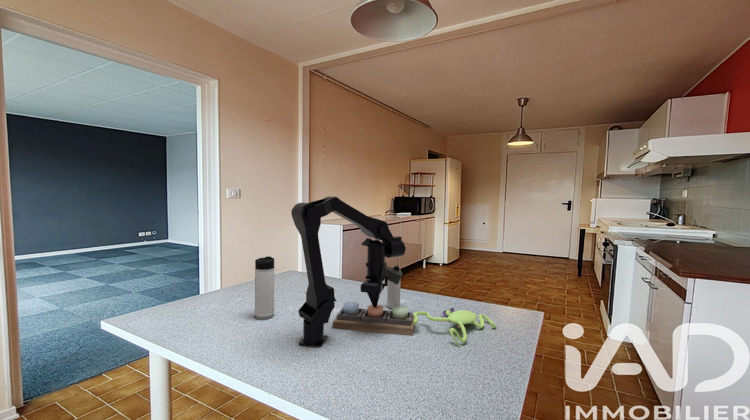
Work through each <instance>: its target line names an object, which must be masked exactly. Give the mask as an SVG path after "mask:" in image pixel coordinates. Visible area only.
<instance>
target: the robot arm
mask: <svg viewBox="0 0 750 420" xmlns="http://www.w3.org/2000/svg"><path fill="white" fill-rule="evenodd" d="M290 213H291V214H290V215H291V217H292V220H293V224H294V226H295V228H296V229H297V232H298V234H299V235H300V238H301V243H302V244H301V245H302V251H303V256H304V263H305V268H306V269H305V271H306V275H307V281H308V286H307V289H306V292H305V295H306V296H305V302H304V303H303V304H302V305H301V306H300V308H299V309H298V311H297V312H298V316H299V317H300V318H302V319H303V322H302V323H303V326H302V332H303V333H302V334H303V336H302V337H303V338H302V339H301V340H299V342H298V346H306V347H308V346H309V347H316V348H320V347H322V346H323V345H324V344H325V342H326V340H327V339H328V337H329V336H328V335H325V324H329V321H330V317H331V314H332V312H333V311H334V309H335V304H336V303H335V302H337V299H336V296H335V288H334V287H333V286H330V285H329V284H327V283H326V278H325V271H324V265H323V258H322V251H321V245H320V238H319V232H320V228H321V224H322V223H321V222H322V220H321V219H322V218H324V217H326V216H329V214H331V213H334V214H335V215H338V216H339V217H341V218H342V219H344V220H346V221H348V222H350V223H351V224H353V225H355V226H356V227H357V228H359V230H360V231H361V232H362V233H363V234H364V235H365V236H367V237H366V239H365V240H363V242H362V243H361V246H363V247H367V249H366V250H367V255H366V256H367V259H366V263H365V267H366V275H365V280H364V281H363V282H362V283H361V284H360V292H361V293H366V294H367V295H368V299H369V300H370V303H371V305H373V307H377V305H379V299H380V294H381V293H382V292H383V291H384V289H385V287H386V285H387V283H386V282H385V281H388V280H389V281H391V282H393V283H394V284H397V285H398V284H399V281H400V282H401V280H400V279H402V276H403V271H401V268H400V266H399V265H394V266H393V267H390V266H387V265H388V264H387V262H386V259H387V258H388V259H390V258H397V257H403V256H404V255H405V254H406V250H407V249H406V248H407V247H406V246H405V243H404V241H403V240H402V236H393V234H392V232H391V230H390V229H389V224H388V222H387V221H384V220H382V219H378V218H375V217H373V216H368V215H367V214H365V213H364V212H362V211H360V210H358V209H356V208H355V207H354V206H352V205H349V204H348V203H346V201H343V200H341V199H340V198H339V197H338V196H325V197H323V198H322V199H317V200H312V201H310V202H297V203H296V204H295V205H293V208H292V209H291V212H290ZM368 237H369V238H368ZM384 282H385V283H384Z"/></svg>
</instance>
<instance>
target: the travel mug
mask: <svg viewBox="0 0 750 420" xmlns="http://www.w3.org/2000/svg"><path fill="white" fill-rule="evenodd" d="M254 265H255V266H254V267H255V268H254V318H255V319H256V320H260V321H261V320H262V321H263V320H270V319H272V318H273V317H274V316H275V258H274V257H272V256H264V257H260V258H257V259H255V261H254Z"/></svg>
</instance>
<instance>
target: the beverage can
mask: <svg viewBox="0 0 750 420" xmlns="http://www.w3.org/2000/svg"><path fill="white" fill-rule="evenodd" d="M401 279H402V278H401ZM401 279H400V281H399V284H398V285H397V284H394V283H393V282H391V281H389V280H387V292H386V293H387V297H386V298H387V299H386V301H387V302H386V304H387V306H386V307H388V309H391V310H392V307H393V306H397V305H401Z"/></svg>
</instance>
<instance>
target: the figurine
mask: <svg viewBox="0 0 750 420" xmlns="http://www.w3.org/2000/svg"><path fill="white" fill-rule="evenodd" d="M441 312H442V316H443V317H436V316H435V317H434V316H431V315H430V313H429V312H428V311H423V310H422V311H415V312H412V315H413V317H414V321H413V324H414V326H415V325H416V324H417V323H418V321H419V317H418V316H426V318H427V319H428V320H429V321H432V322H451V323H453V324H457V326H456V328H457V329H460V330H461V332H462V336H460V334H459V333H458V332H459V331H457V330H456V329H455V328H454V327H451V328H450V329H448V331H449V334H450V337H452V338H453V340H454V341H455V343H456V345H457V346H458V348H460V347H461V346H460V344H459V341H460V342H461V343H462V344H463V343H466V342H467V340H468V335H467V330H466V327H465V326H464V325H467V324H470V325H475V327H477V329H482V328H484V325H485V321H486V322H487V323H489V325H490V327H491V328H492V329H496V328H497V325H496V324H495V323H494V321H493V320H492V319H490V318H489V317H488V316H487V315H485V314H484V313H480V314H479V315H478V316H477V314H476V313H474V312H473V311H471V310H466V309H462V310H461V309H460V310H455V308H454V307H452V308H450V309H446V310H443V311H441ZM477 318H478V319H479V322H477V320H476V319H477ZM484 320H485V321H484ZM455 335H456V337H457V338H458V339H457V338H456V337H455ZM458 340H459V341H458Z"/></svg>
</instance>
